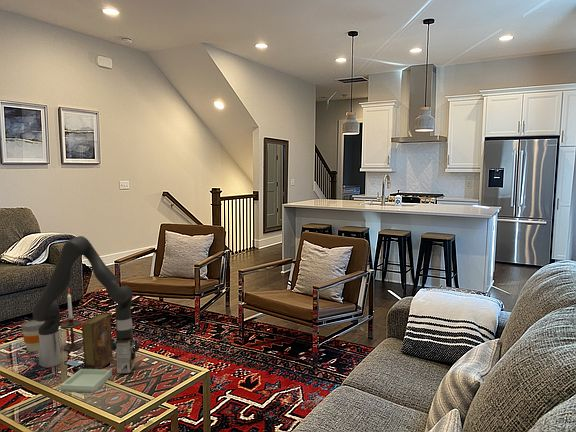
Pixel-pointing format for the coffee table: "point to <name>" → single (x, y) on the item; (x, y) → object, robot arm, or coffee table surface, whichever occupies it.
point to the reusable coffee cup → (31, 334)
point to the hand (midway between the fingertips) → (125, 359)
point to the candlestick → (71, 327)
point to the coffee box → (124, 356)
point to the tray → (86, 380)
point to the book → (97, 341)
